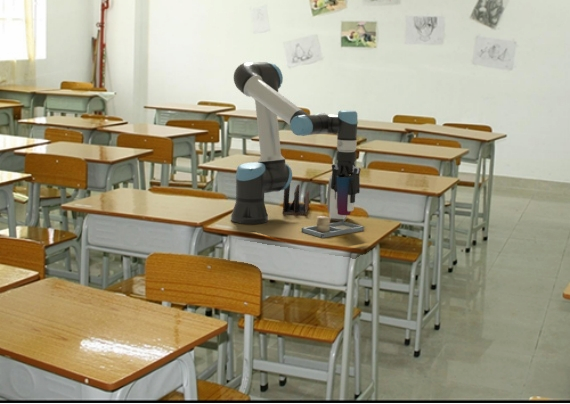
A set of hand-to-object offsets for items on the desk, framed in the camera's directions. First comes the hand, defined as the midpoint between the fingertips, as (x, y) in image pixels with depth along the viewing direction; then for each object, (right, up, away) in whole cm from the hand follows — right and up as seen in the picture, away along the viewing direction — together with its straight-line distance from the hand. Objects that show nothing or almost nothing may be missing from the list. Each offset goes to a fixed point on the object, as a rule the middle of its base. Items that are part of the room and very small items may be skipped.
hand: (344, 209), depth 313 cm
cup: (0, -2, 0) cm, 2 cm away
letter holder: (-18, -1, +40) cm, 44 cm away
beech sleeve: (-9, -9, -5) cm, 13 cm away
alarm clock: (-1, -5, +23) cm, 23 cm away
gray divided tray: (-5, -9, -2) cm, 11 cm away
